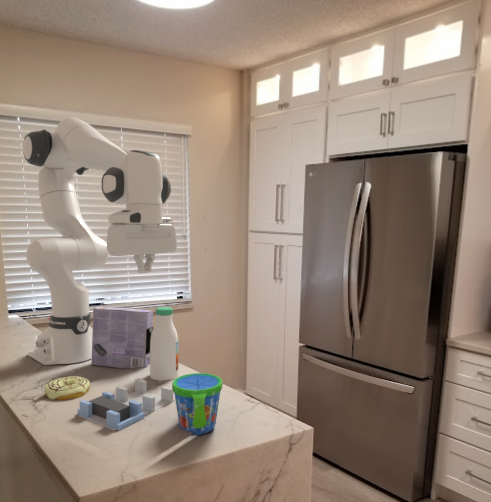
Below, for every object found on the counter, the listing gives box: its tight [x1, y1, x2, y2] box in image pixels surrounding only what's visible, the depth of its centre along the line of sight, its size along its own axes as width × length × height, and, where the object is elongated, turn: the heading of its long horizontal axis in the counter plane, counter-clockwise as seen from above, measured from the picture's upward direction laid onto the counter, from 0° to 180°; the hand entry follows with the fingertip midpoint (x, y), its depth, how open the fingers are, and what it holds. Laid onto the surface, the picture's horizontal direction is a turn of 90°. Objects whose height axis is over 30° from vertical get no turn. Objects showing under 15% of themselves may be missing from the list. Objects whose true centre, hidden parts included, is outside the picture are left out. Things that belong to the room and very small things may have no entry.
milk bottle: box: [149, 306, 179, 382], centre depth 118 cm, size 8×8×20 cm
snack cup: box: [171, 372, 223, 436], centre depth 90 cm, size 16×10×10 cm
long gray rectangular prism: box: [88, 395, 130, 422], centre depth 93 cm, size 10×3×3 cm, turn 57°
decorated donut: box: [43, 375, 91, 401], centre depth 106 cm, size 10×11×4 cm
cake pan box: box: [91, 306, 154, 370], centre depth 128 cm, size 19×5×18 cm, turn 77°
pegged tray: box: [77, 378, 176, 431], centre depth 97 cm, size 14×18×4 cm
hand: (144, 272), depth 105 cm, fingers closed
